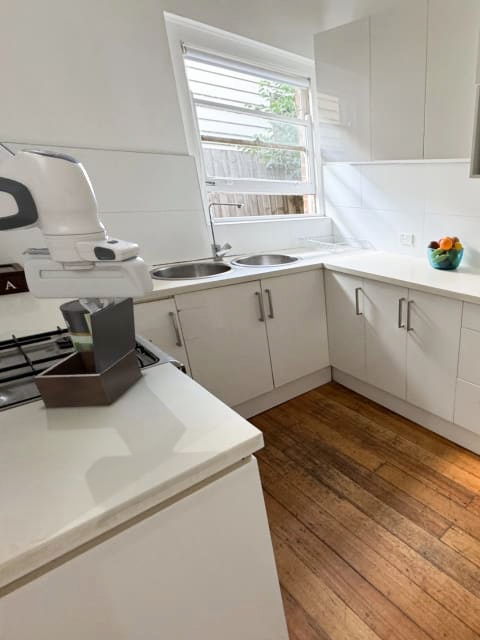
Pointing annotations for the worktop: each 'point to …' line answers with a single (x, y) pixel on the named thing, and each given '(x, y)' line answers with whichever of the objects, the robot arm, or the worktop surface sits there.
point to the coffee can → (79, 323)
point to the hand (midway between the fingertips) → (103, 318)
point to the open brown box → (86, 380)
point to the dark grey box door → (113, 333)
